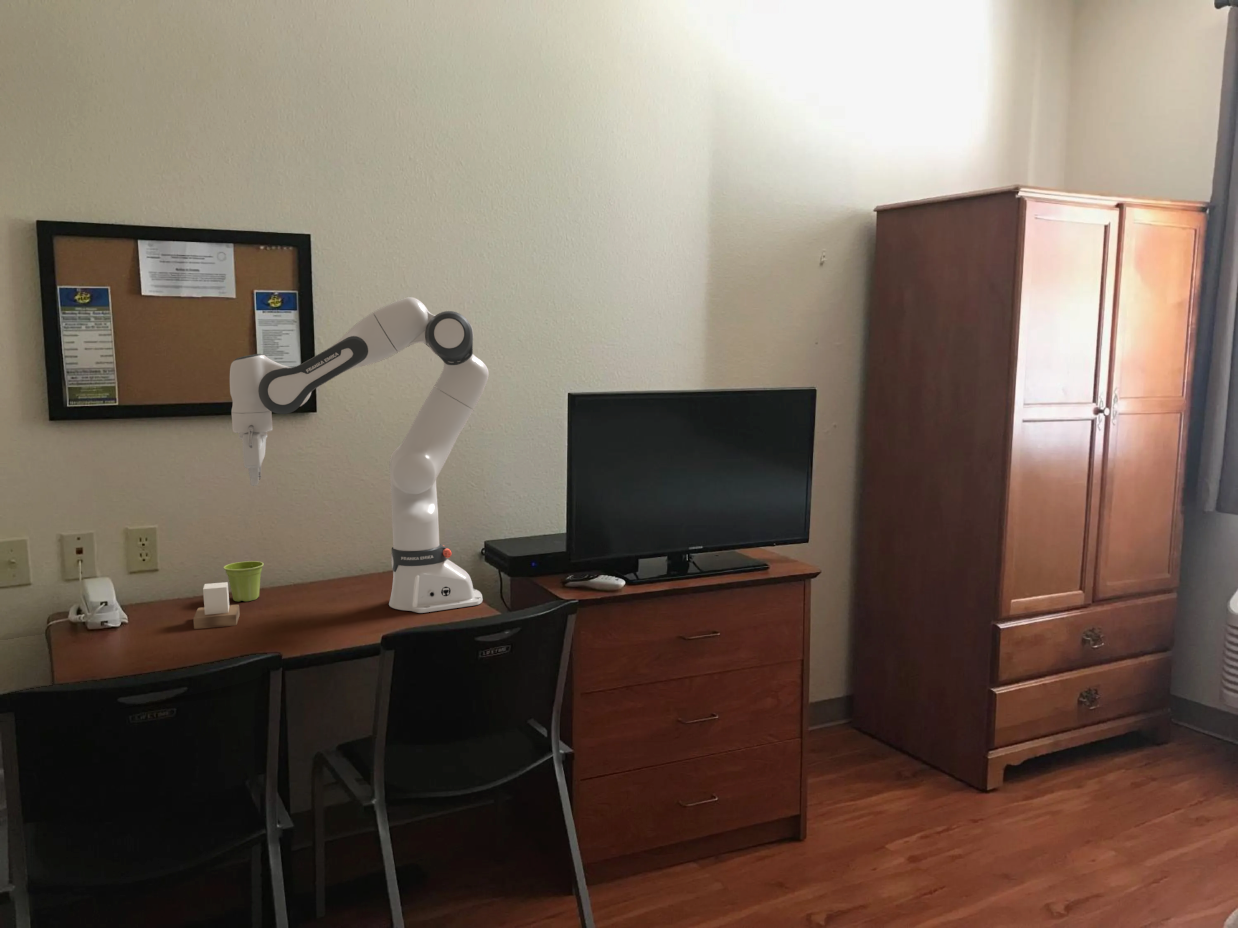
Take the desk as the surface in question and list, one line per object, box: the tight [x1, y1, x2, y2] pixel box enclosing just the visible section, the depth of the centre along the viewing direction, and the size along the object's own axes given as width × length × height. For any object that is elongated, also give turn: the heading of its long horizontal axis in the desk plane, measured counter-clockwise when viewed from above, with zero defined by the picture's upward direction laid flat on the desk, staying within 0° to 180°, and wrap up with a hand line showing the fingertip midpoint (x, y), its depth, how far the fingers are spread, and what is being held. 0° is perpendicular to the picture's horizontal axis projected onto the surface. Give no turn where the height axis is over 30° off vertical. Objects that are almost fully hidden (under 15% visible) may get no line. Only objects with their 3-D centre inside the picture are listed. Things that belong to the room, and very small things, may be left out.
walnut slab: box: [193, 603, 240, 630], centre depth 235 cm, size 9×9×3 cm
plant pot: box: [223, 560, 264, 603], centre depth 254 cm, size 9×9×9 cm
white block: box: [202, 581, 230, 615], centre depth 235 cm, size 5×5×6 cm
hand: (256, 482), depth 240 cm, fingers open, 8 cm apart
